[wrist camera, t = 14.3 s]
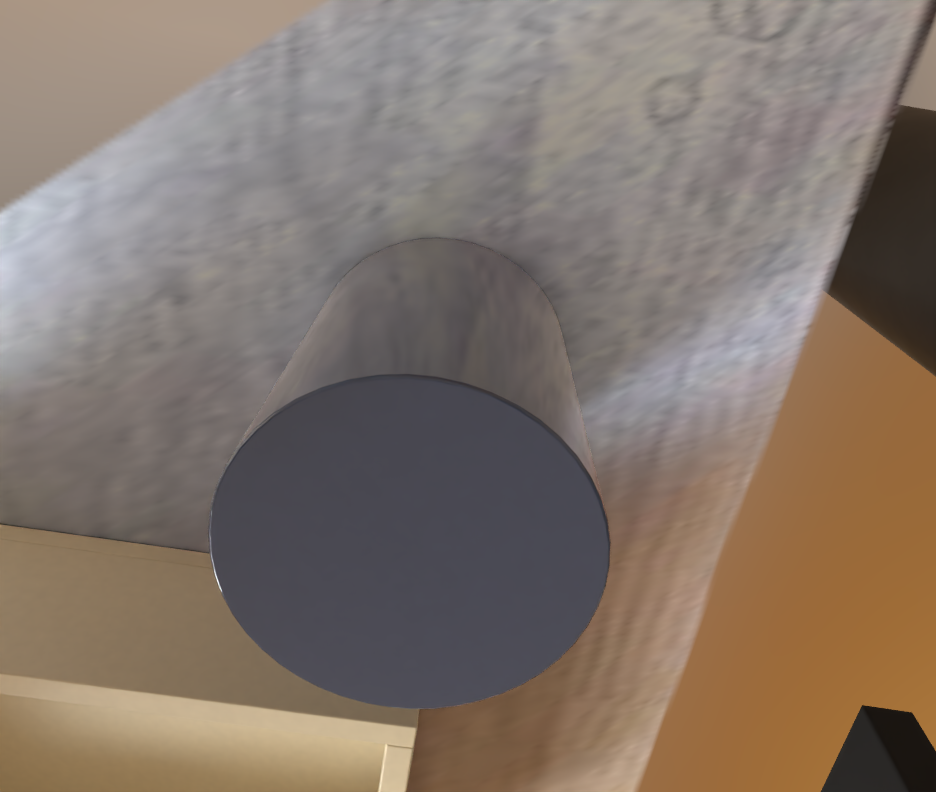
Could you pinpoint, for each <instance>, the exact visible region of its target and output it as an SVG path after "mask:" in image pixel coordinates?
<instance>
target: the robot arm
mask: <svg viewBox="0 0 936 792" xmlns="http://www.w3.org/2000/svg"><path fill="white" fill-rule="evenodd" d="M821 792H936V751H935V750H934V748H933V746H932V744H931V743H930V741H929V740H928V738H927V736H926V735H925V733H924V731H923V730H922V728H921V727H920V725H919V723H918V722H917V720H916V718H915V717H914V715H913V714H912V713H911V712H904V711H898V710H891V709H884V708H877V707H870V706H863V705H862V707H861V709H860V711H859V713H858V715H857V717H856V719H855V721H854V723H853V726H852V728H851V730H850V732H849V734H848V736H847V738H846V740H845V742H844V744H843V747H842V749H841V751H840V753H839V755H838V757H837V759H836V761H835V763H834V765H833V767H832V770H831V772H830V774H829V776H828V778H827V780H826V782H825V784H824V786H823V788H822V790H821Z"/></svg>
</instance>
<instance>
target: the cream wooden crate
mask: <svg viewBox="0 0 936 792" xmlns="http://www.w3.org/2000/svg"><path fill="white" fill-rule="evenodd" d="M418 718H419V709H404V708H392V707H384V706H378V705H373V704H367V703H362V702H359V701H355V700H352V699H348V698H345V697H341V696H339V695H336V694H334V693H331V692H329V691H326V690H324V689H321V688H319V687H317V686H315V685H313V684H311V683H309V682H307V681H305V680H303V679H301V678H299V677H298V676H296V675H295V674H293V673H292V672H290V671H289V670H287V669H286V668H284V667H283V666H281V665H280V664H278V663H277V662H276V661H275V660H273V659H272V658H271V657H270V656H269V655H268V654H266V653H265V652H264V651H263V650H262V649H261V648H260V647H259V646H258V645H257V644H256V643H255V642H254V641H253V640H252V639H251V638H250V637H249V636H248V635H247V634H246V632H245V631H244V630H243V628H242V627H241V626H240V624H239V623H238V622H237V620H236V619H235V617H234V616H233V615H232V613H231V611H230V609H229V607H228V606H227V604H226V602H225V600H224V598H223V596H222V594H221V592H220V589H219V586H218V584H217V581H216V578H215V576H214V572H213V567H212V562H211V558H210V553H203V552H196V551H188V550H181V549H174V548H167V547H160V546H152V545H145V544H138V543H131V542H124V541H116V540H109V539H102V538H95V537H88V536H81V535H73V534H66V533H59V532H52V531H45V530H37V529H30V528H23V527H16V526H9V525H2V524H0V792H407V786H408V780H409V774H410V768H411V763H412V757H413V751H414V745H415V740H416V734H417V728H418Z"/></svg>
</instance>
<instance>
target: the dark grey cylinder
mask: <svg viewBox="0 0 936 792" xmlns="http://www.w3.org/2000/svg"><path fill="white" fill-rule="evenodd" d="M208 538H209V553H210V558H211V562H212V567H213V572H214V576H215V578H216V581H217V584H218V586H219V589H220V592H221V594H222V596H223V598H224V600H225V602H226V604H227V606H228V607H229V609H230V611H231V613H232V615H233V616H234V617H235V619H236V620H237V622H238V623H239V624H240V626H241V627H242V628H243V630H244V631H245V632H246V634H247V635H248V636H249V637H250V638H251V639H252V640H253V641H254V642H255V643H256V644H257V645H258V646H259V647H260V648H261V649H262V650H263V651H264V652H265V653H266V654H268V655H269V656H270V657H271V658H272V659H273V660H275V661H276V662H277V663H278V664H280V665H281V666H283V667H284V668H286V669H287V670H289V671H290V672H292V673H293V674H295V675H296V676H298V677H299V678H301V679H303V680H305V681H307V682H309V683H311V684H313V685H315V686H317V687H319V688H321V689H324V690H326V691H329V692H331V693H334V694H336V695H339V696H341V697H345V698H348V699H352V700H355V701H359V702H362V703H367V704H373V705H378V706H384V707H392V708H404V709H436V708H445V707H454V706H460V705H465V704H469V703H474V702H478V701H482V700H485V699H488V698H491V697H494V696H497V695H500V694H503V693H505V692H507V691H509V690H512V689H514V688H516V687H518V686H520V685H523V684H524V683H526V682H528V681H529V680H531V679H533V678H534V677H536V676H537V675H539V674H541V673H542V672H544V671H545V670H546V669H547V668H549V667H550V666H551V665H553V664H554V663H555V662H556V661H558V660H559V659H560V658H561V657H562V656H563V655H564V654H565V653H566V652H567V651H568V650H569V649H570V648H571V647H572V646H573V645H574V644H575V642H576V641H577V640H578V638H579V637H580V636H581V634H582V633H583V632H584V630H585V629H586V628H587V626H588V624H589V623H590V621H591V619H592V617H593V615H594V613H595V612H596V610H597V608H598V606H599V603H600V600H601V598H602V595H603V592H604V589H605V587H606V582H607V577H608V572H609V567H610V547H611V541H610V533H609V525H608V519H607V515H606V511H605V507H604V503H603V498H602V494H601V490H600V486H599V482H598V478H597V474H596V470H595V466H594V462H593V458H592V453H591V449H590V445H589V441H588V437H587V433H586V429H585V425H584V421H583V417H582V413H581V408H580V404H579V400H578V396H577V392H576V388H575V384H574V380H573V376H572V372H571V368H570V364H569V359H568V355H567V351H566V347H565V343H564V339H563V335H562V331H561V328H560V324H559V321H558V318H557V316H556V314H555V312H554V309H553V307H552V305H551V303H550V302H549V300H548V298H547V297H546V295H545V294H544V292H543V291H542V289H541V288H540V287H539V286H538V285H537V283H536V282H535V281H534V280H533V279H532V278H531V277H530V276H529V275H528V274H527V273H526V272H525V271H524V270H523V269H522V268H520V267H519V266H518V265H516V264H515V263H513V262H512V261H511V260H509V259H508V258H506V257H504V256H502V255H501V254H499V253H497V252H495V251H493V250H491V249H488V248H486V247H483V246H480V245H477V244H475V243H470V242H466V241H461V240H457V239H446V238H425V239H417V240H411V241H405V242H402V243H399V244H396V245H392V246H389V247H387V248H385V249H383V250H380V251H378V252H376V253H374V254H372V255H371V256H369V257H368V258H366V259H364V260H363V261H361V262H360V263H358V264H357V265H356V266H355V267H354V268H353V269H351V270H350V271H349V272H348V273H347V274H346V275H345V276H344V277H343V278H342V280H341V281H340V282H339V283H338V284H337V285H336V287H335V288H334V290H333V291H332V293H331V294H330V296H329V297H328V299H327V300H326V302H325V304H324V305H323V307H322V309H321V310H320V312H319V313H318V315H317V317H316V318H315V320H314V322H313V323H312V325H311V327H310V328H309V330H308V331H307V333H306V335H305V336H304V338H303V340H302V341H301V343H300V345H299V346H298V348H297V349H296V351H295V353H294V354H293V356H292V358H291V359H290V361H289V363H288V364H287V366H286V367H285V369H284V371H283V372H282V374H281V376H280V377H279V379H278V380H277V382H276V384H275V385H274V387H273V389H272V390H271V392H270V394H269V395H268V397H267V398H266V400H265V402H264V403H263V405H262V407H261V408H260V410H259V412H258V413H257V415H256V416H255V418H254V420H253V421H252V423H251V425H250V426H249V428H248V429H247V431H246V433H245V434H244V436H243V438H242V439H241V441H240V443H239V444H238V446H237V447H236V449H235V451H234V452H233V454H232V456H231V457H230V459H229V461H228V462H227V464H226V465H225V468H224V470H223V472H222V474H221V477H220V479H219V481H218V483H217V485H216V488H215V492H214V496H213V500H212V503H211V507H210V516H209V526H208Z"/></svg>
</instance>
